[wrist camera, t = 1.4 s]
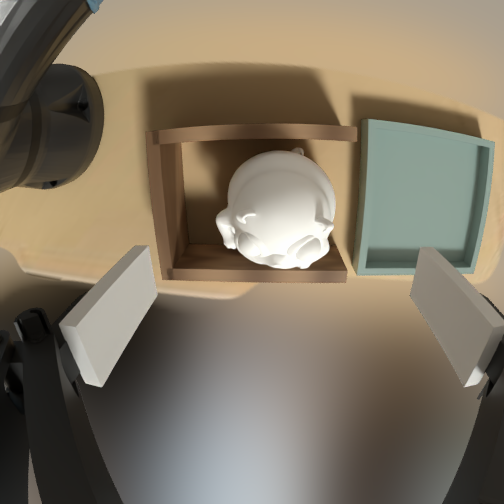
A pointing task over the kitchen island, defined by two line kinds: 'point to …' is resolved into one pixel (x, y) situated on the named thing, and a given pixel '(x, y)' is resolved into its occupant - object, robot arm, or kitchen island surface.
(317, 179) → the figurine
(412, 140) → the tray
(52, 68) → the robot arm
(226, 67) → the kitchen island surface
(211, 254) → the wooden open box
